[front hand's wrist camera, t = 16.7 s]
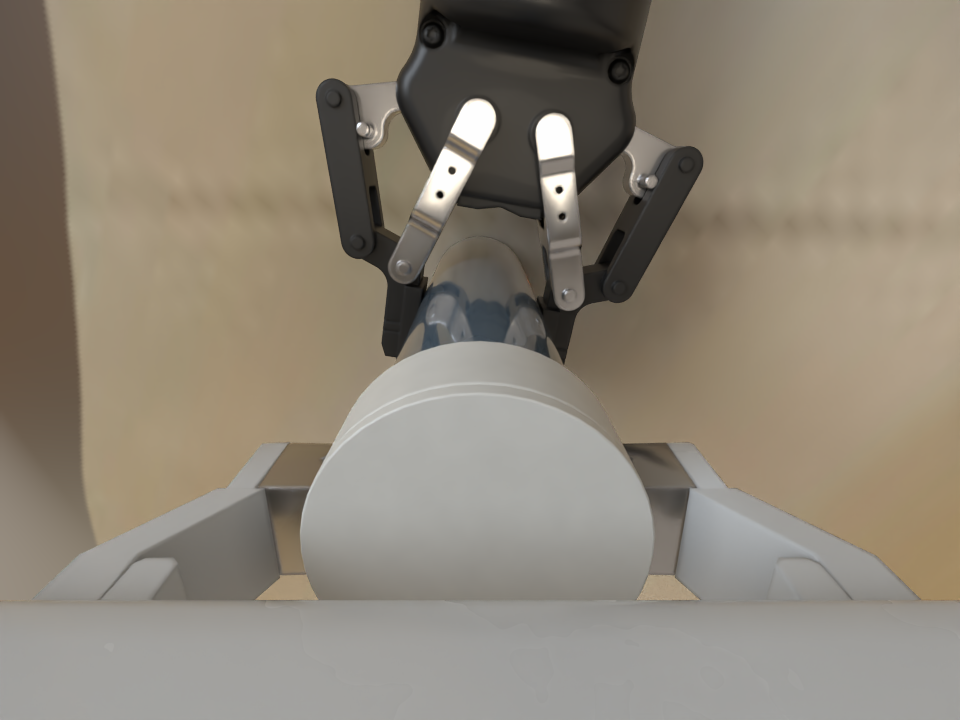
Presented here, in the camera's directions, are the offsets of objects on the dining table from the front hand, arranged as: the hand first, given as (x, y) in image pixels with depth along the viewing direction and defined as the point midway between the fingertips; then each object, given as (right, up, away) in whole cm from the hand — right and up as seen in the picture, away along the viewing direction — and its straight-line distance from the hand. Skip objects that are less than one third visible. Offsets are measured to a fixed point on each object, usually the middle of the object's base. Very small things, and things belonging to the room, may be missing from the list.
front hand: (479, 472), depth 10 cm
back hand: (0, +2, +12) cm, 12 cm away
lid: (0, -1, -2) cm, 2 cm away
